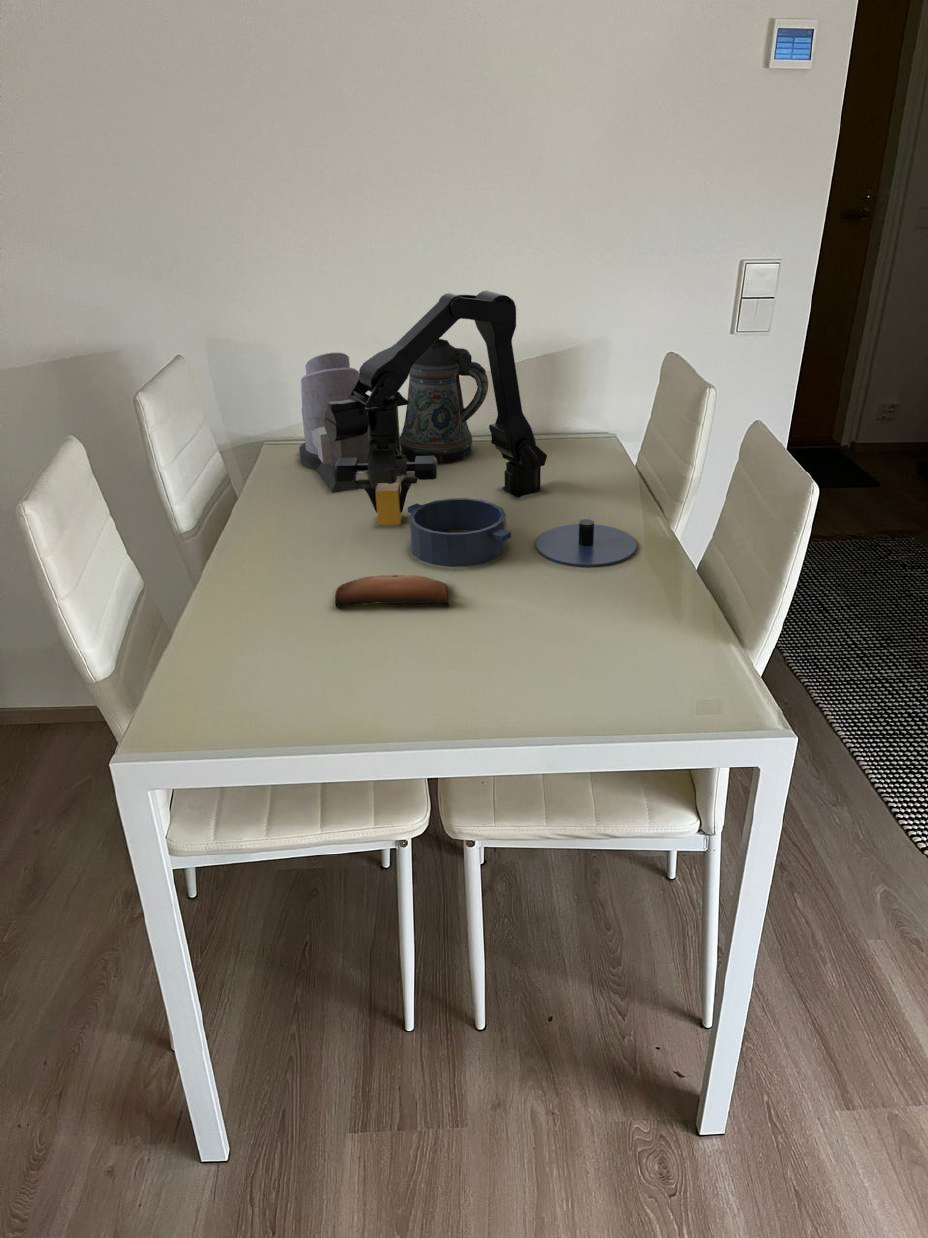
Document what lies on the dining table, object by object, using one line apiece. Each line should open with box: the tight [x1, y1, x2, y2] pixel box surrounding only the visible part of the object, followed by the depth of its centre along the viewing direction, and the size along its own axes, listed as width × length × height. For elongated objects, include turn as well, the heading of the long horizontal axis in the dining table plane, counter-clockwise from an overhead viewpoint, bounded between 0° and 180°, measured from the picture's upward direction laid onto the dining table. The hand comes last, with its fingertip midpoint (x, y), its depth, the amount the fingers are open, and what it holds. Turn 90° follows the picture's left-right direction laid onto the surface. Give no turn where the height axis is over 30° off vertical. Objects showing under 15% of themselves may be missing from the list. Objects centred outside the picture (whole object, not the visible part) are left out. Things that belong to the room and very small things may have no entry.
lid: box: [535, 518, 638, 568], centre depth 168 cm, size 18×18×5 cm
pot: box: [407, 497, 512, 568], centre depth 169 cm, size 17×22×6 cm
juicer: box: [298, 352, 377, 493], centre depth 206 cm, size 30×16×24 cm, turn 20°
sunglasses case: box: [334, 574, 451, 608], centre depth 154 cm, size 18×7×7 cm, turn 90°
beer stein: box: [400, 338, 489, 465], centre depth 212 cm, size 16×19×25 cm
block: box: [375, 482, 403, 526], centre depth 181 cm, size 4×4×7 cm
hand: (389, 511), depth 182 cm, fingers closed on block, 4 cm apart
